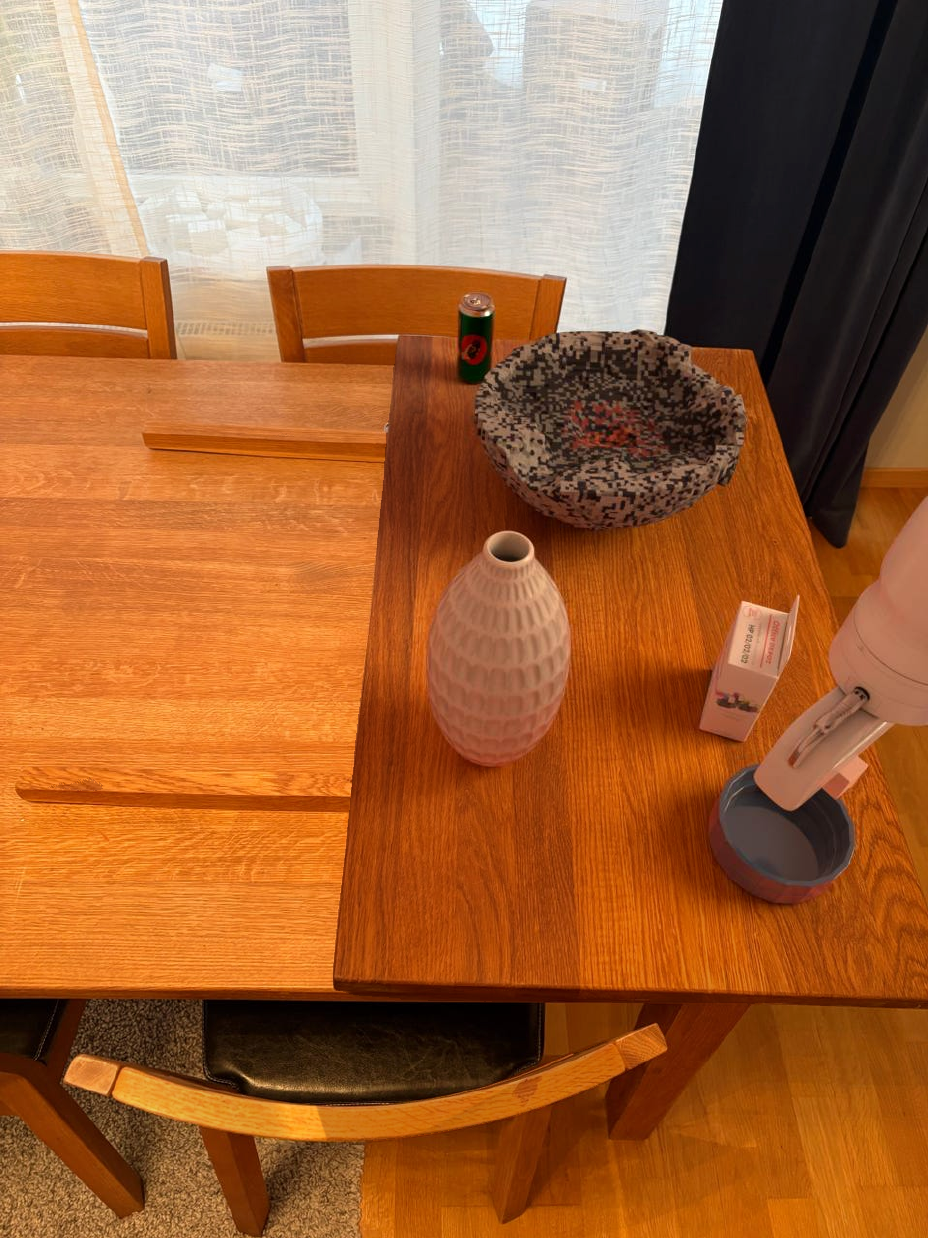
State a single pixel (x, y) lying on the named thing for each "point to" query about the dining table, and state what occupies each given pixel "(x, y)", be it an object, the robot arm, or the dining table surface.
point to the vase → (498, 653)
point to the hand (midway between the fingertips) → (827, 760)
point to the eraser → (845, 778)
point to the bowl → (608, 427)
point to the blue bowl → (779, 841)
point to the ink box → (747, 669)
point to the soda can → (475, 337)
